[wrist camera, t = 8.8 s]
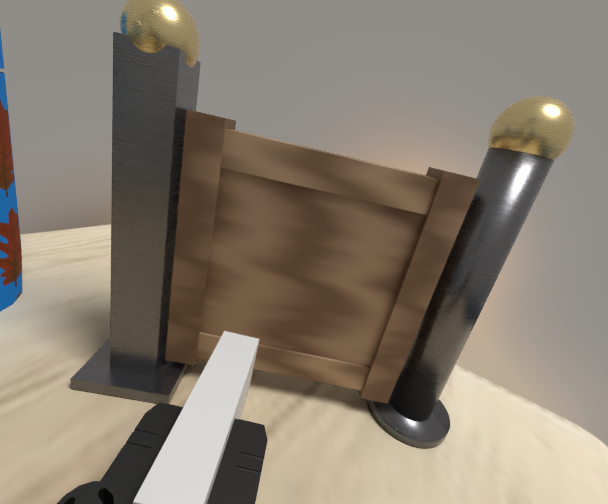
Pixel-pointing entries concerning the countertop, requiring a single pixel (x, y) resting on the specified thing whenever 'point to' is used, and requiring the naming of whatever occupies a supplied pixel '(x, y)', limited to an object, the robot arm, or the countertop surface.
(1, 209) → the thermos
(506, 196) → the hinge post
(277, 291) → the walnut gate
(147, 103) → the post
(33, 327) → the countertop surface
